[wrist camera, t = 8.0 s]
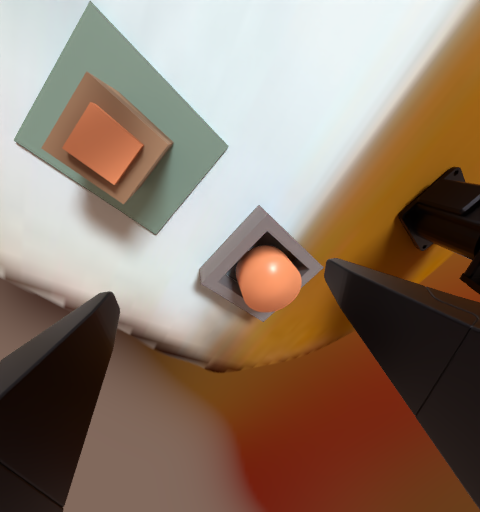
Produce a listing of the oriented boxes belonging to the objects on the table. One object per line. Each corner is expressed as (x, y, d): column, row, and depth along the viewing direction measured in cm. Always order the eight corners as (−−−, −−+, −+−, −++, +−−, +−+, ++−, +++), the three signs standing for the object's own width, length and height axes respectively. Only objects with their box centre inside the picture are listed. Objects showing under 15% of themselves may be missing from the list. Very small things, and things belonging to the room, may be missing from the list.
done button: (297, 264, 21) (312, 282, 18) (261, 299, 22) (270, 320, 20) (263, 234, 19) (275, 249, 16) (224, 274, 20) (229, 294, 17)
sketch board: (228, 146, 16) (228, 146, 16) (156, 233, 18) (156, 234, 18) (91, 2, 12) (90, 0, 12) (15, 140, 14) (13, 140, 14)
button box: (310, 255, 23) (323, 267, 20) (256, 305, 24) (263, 321, 22) (259, 204, 19) (267, 213, 17) (199, 268, 21) (200, 283, 19)
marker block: (173, 142, 15) (167, 145, 11) (140, 186, 16) (120, 207, 11) (119, 92, 14) (80, 67, 9) (85, 144, 14) (33, 148, 10)
